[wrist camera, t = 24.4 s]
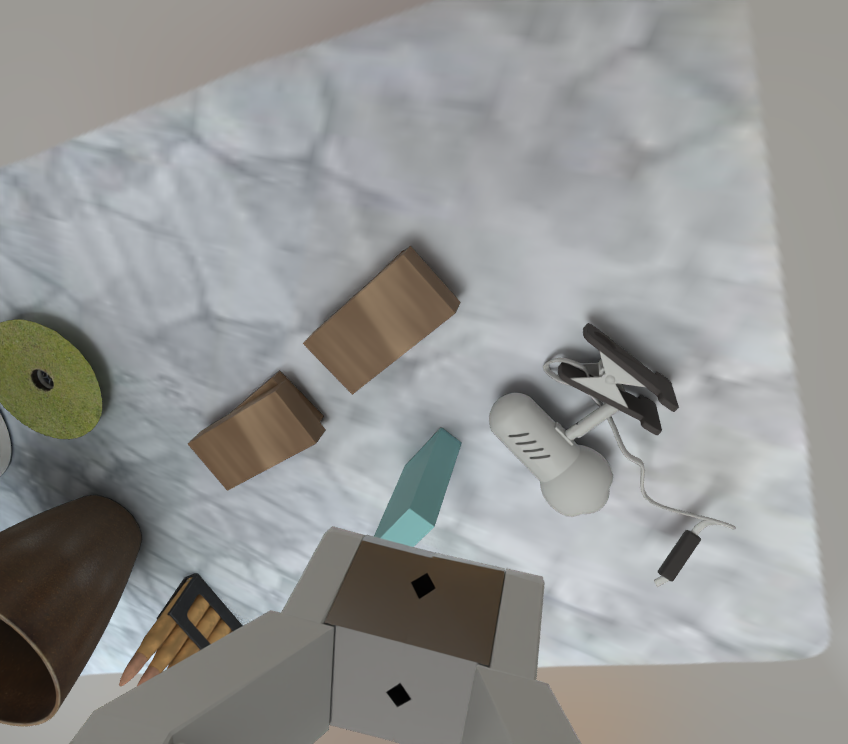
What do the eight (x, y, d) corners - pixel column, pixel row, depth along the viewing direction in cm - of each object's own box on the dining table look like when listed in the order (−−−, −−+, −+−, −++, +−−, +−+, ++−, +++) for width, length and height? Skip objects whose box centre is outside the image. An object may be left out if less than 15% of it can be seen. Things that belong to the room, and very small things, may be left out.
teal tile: (461, 442, 50) (434, 526, 41) (424, 480, 52) (391, 567, 44) (441, 427, 50) (409, 508, 41) (404, 466, 52) (367, 550, 43)
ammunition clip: (184, 577, 64) (105, 680, 54) (197, 572, 64) (119, 675, 53) (248, 651, 67) (185, 763, 57) (261, 647, 66) (200, 760, 56)
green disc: (138, 378, 54) (123, 389, 53) (82, 449, 60) (67, 461, 58) (28, 284, 53) (10, 292, 51) (-19, 366, 58) (-38, 376, 56)
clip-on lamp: (768, 485, 46) (600, 303, 43) (794, 541, 40) (603, 336, 38) (632, 562, 51) (474, 403, 48) (638, 622, 45) (460, 446, 43)
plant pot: (135, 606, 68) (18, 750, 54) (18, 516, 66) (-136, 643, 52) (203, 535, 61) (89, 681, 47) (74, 433, 59) (-86, 554, 45)
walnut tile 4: (325, 429, 51) (238, 476, 55) (286, 379, 49) (200, 431, 54) (316, 443, 49) (227, 490, 53) (275, 391, 48) (187, 443, 52)
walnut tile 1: (460, 302, 43) (360, 381, 48) (410, 245, 42) (313, 332, 47) (455, 313, 42) (352, 394, 46) (402, 254, 41) (302, 343, 45)
